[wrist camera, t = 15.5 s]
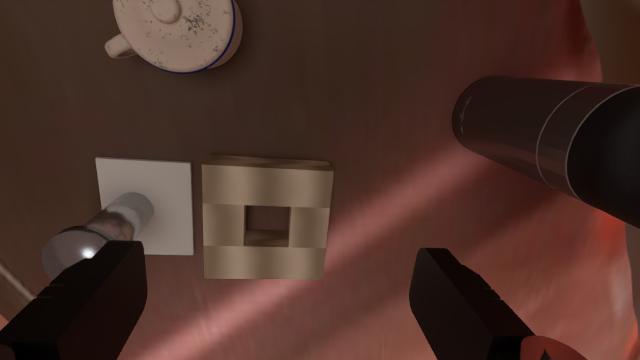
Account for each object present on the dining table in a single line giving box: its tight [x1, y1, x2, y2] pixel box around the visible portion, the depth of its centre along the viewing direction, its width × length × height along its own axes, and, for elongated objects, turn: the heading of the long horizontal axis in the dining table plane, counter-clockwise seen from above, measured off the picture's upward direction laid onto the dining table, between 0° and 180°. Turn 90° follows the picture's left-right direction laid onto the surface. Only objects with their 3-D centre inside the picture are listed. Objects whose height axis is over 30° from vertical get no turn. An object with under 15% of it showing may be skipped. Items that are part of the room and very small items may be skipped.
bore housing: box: [202, 155, 334, 280], centre depth 40 cm, size 14×14×4 cm
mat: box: [95, 157, 195, 255], centre depth 40 cm, size 10×12×1 cm
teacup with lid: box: [105, 0, 243, 74], centre depth 29 cm, size 12×9×12 cm
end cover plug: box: [41, 192, 154, 280], centre depth 34 cm, size 6×6×11 cm
